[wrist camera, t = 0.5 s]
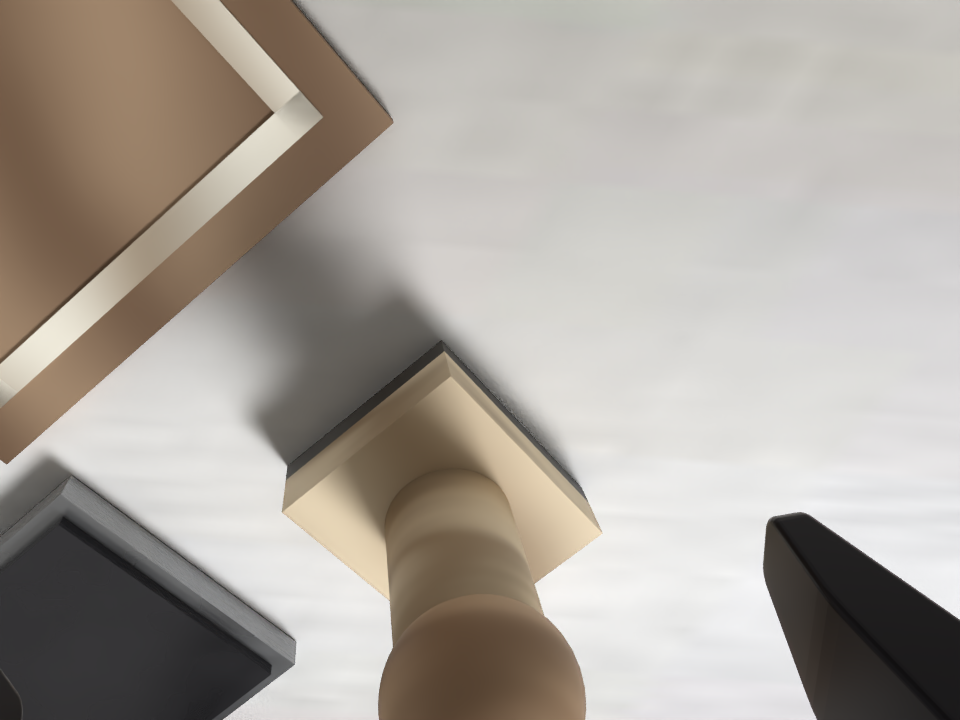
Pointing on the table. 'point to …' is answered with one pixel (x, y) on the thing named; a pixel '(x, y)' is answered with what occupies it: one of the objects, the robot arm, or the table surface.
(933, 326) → the table surface
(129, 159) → the marked board
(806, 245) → the table surface
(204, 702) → the ink pad
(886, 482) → the table surface
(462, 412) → the wooden stamp
